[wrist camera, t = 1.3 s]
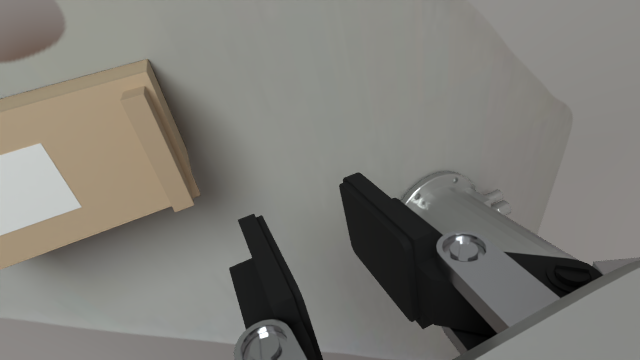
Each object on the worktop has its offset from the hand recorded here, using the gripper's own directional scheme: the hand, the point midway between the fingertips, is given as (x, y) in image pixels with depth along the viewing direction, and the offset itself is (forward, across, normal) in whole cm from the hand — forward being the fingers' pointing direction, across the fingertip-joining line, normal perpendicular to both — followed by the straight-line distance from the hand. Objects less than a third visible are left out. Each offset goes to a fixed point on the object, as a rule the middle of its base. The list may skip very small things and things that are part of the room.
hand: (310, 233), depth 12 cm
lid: (+15, +12, 0) cm, 19 cm away
